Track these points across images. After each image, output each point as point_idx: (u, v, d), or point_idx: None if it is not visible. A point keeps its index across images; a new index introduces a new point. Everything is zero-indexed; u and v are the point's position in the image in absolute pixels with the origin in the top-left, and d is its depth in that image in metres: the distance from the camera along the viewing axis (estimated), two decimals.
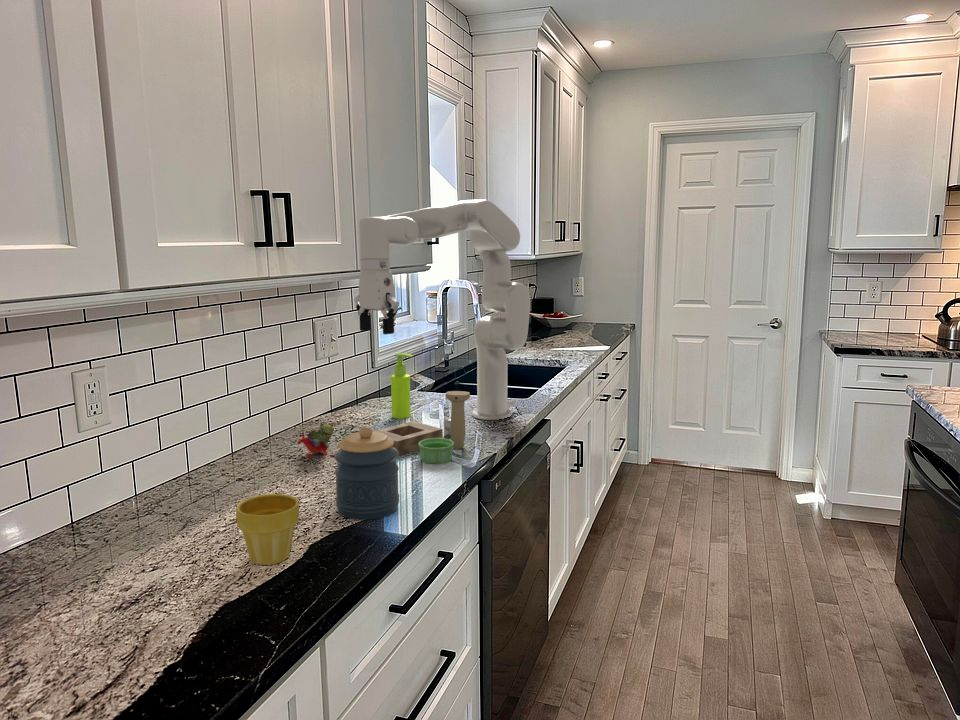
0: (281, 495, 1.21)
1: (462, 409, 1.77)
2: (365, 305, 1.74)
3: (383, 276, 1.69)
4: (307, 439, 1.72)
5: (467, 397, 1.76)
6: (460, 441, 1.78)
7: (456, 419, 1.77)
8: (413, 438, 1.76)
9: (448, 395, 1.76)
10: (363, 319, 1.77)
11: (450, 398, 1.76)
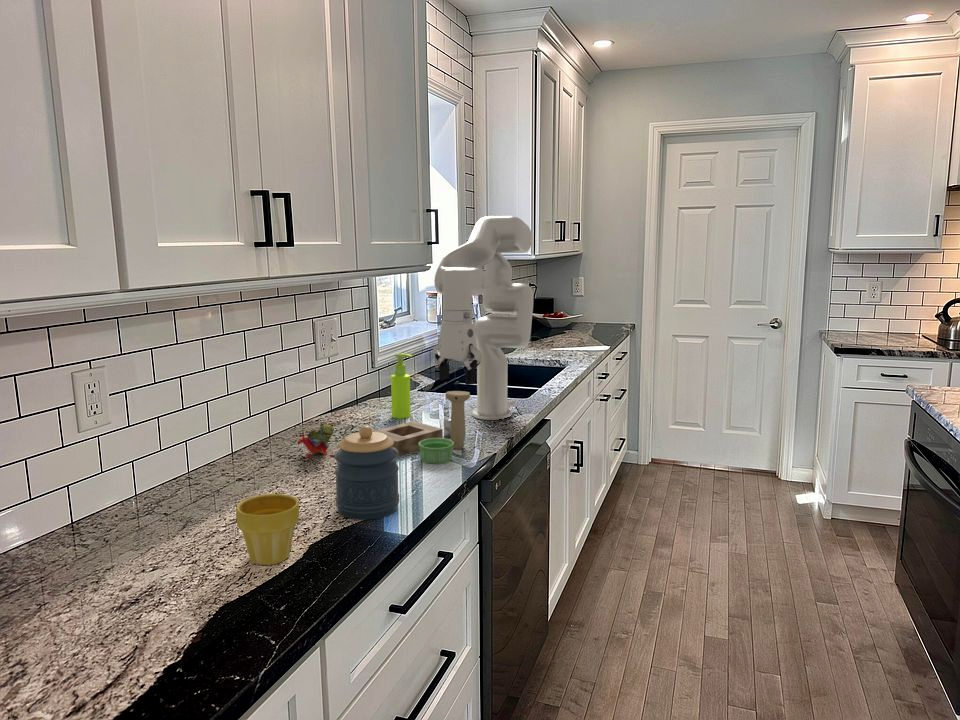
0: (281, 495, 1.21)
1: (462, 409, 1.77)
2: (446, 355, 1.75)
3: (467, 327, 1.70)
4: (307, 439, 1.72)
5: (467, 397, 1.76)
6: (460, 441, 1.78)
7: (456, 419, 1.77)
8: (413, 438, 1.76)
9: (448, 395, 1.76)
10: (443, 368, 1.78)
11: (450, 398, 1.76)
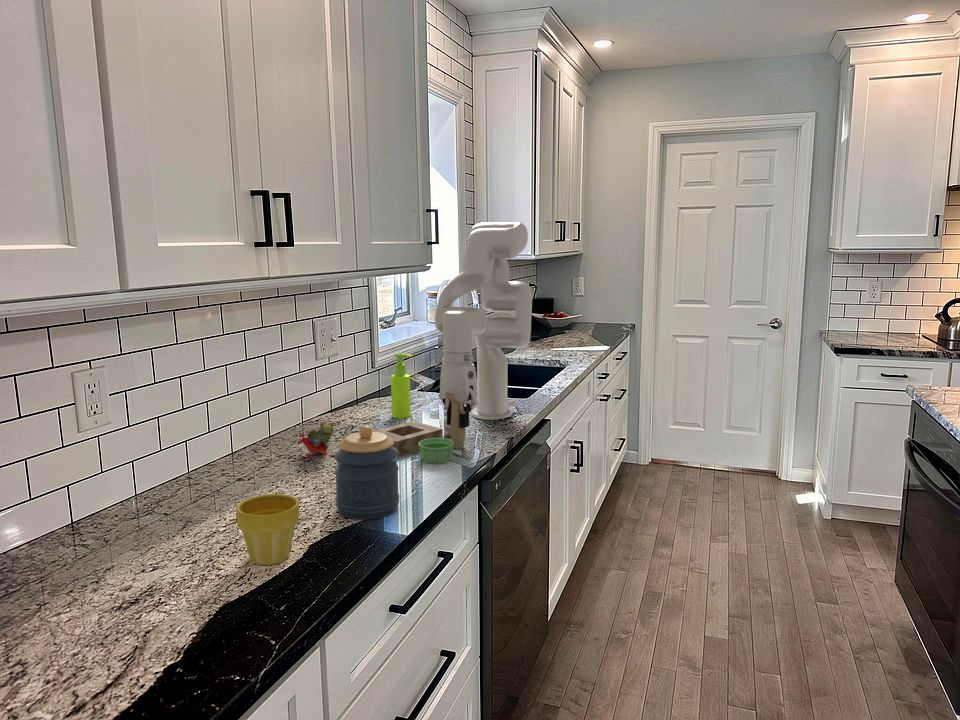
0: (281, 495, 1.21)
1: None
2: None
3: (467, 370, 1.72)
4: (307, 439, 1.72)
5: None
6: (460, 441, 1.78)
7: (456, 419, 1.77)
8: (413, 438, 1.76)
9: (448, 395, 1.76)
10: (450, 413, 1.79)
11: (450, 398, 1.76)
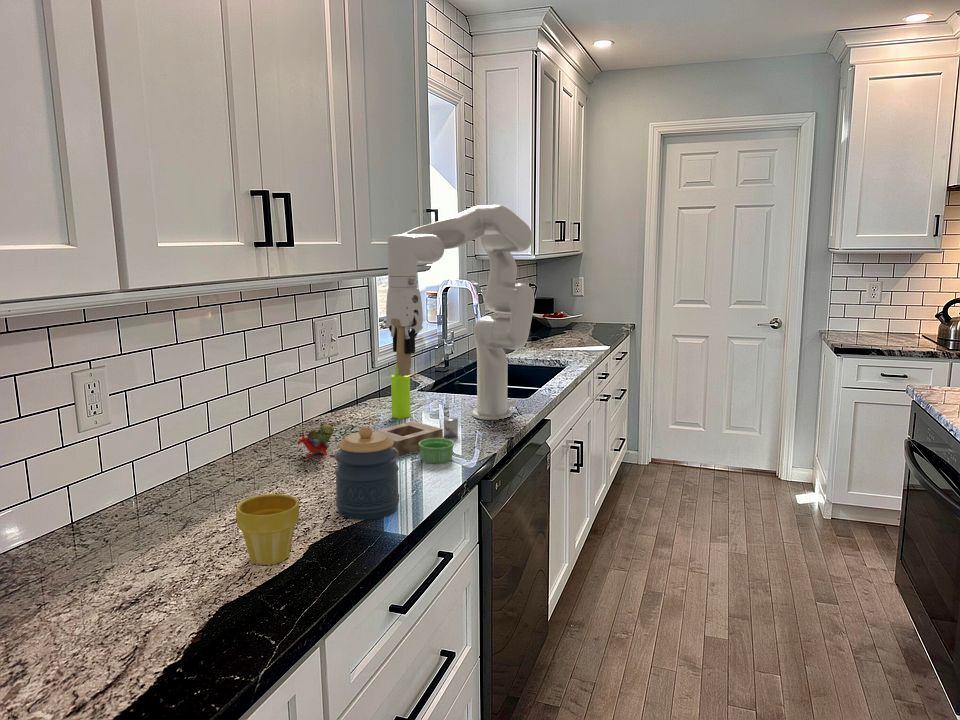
0: (281, 495, 1.21)
1: None
2: None
3: (411, 293, 1.71)
4: (307, 439, 1.72)
5: None
6: (406, 368, 1.77)
7: (402, 345, 1.76)
8: (413, 438, 1.76)
9: (393, 320, 1.75)
10: (396, 340, 1.78)
11: (395, 323, 1.75)
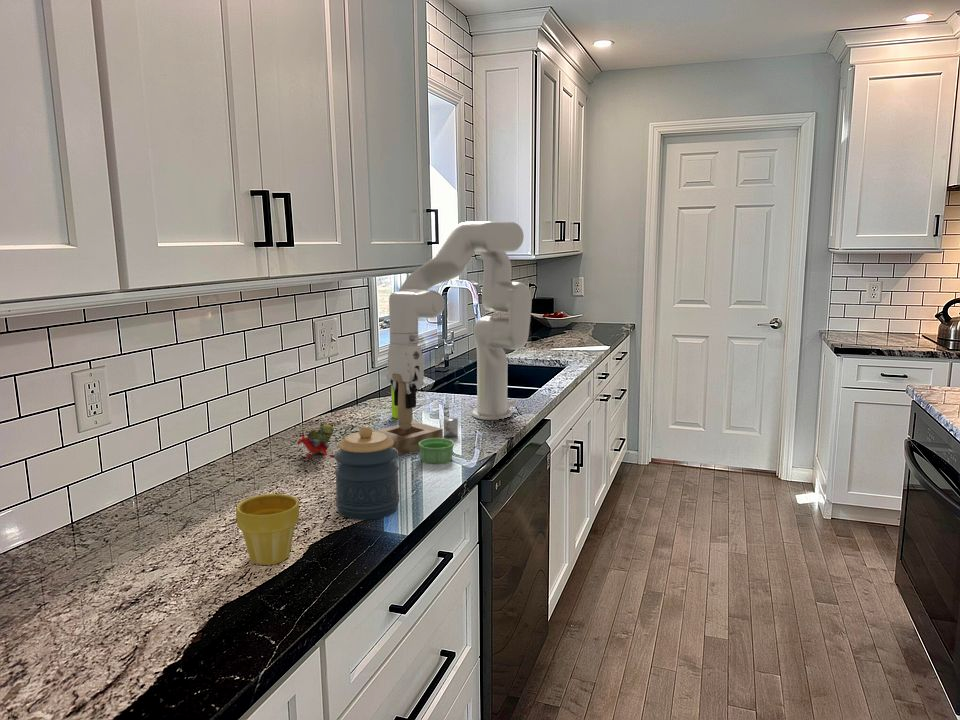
0: (281, 495, 1.21)
1: None
2: None
3: (412, 350, 1.74)
4: (307, 439, 1.72)
5: (413, 378, 1.77)
6: (407, 421, 1.79)
7: (403, 399, 1.78)
8: (413, 438, 1.76)
9: (394, 376, 1.77)
10: (397, 394, 1.81)
11: (396, 378, 1.77)
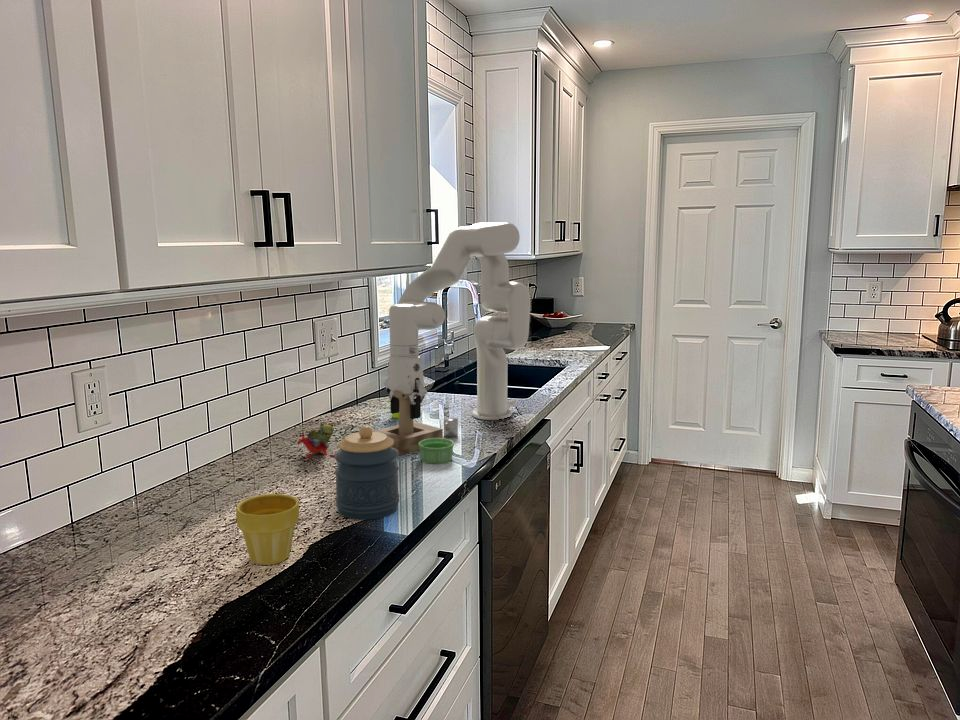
0: (281, 495, 1.21)
1: None
2: (394, 388, 1.79)
3: (412, 362, 1.75)
4: (307, 439, 1.72)
5: (414, 395, 1.78)
6: None
7: (404, 416, 1.79)
8: (413, 438, 1.76)
9: (395, 393, 1.78)
10: (394, 402, 1.82)
11: (397, 396, 1.78)
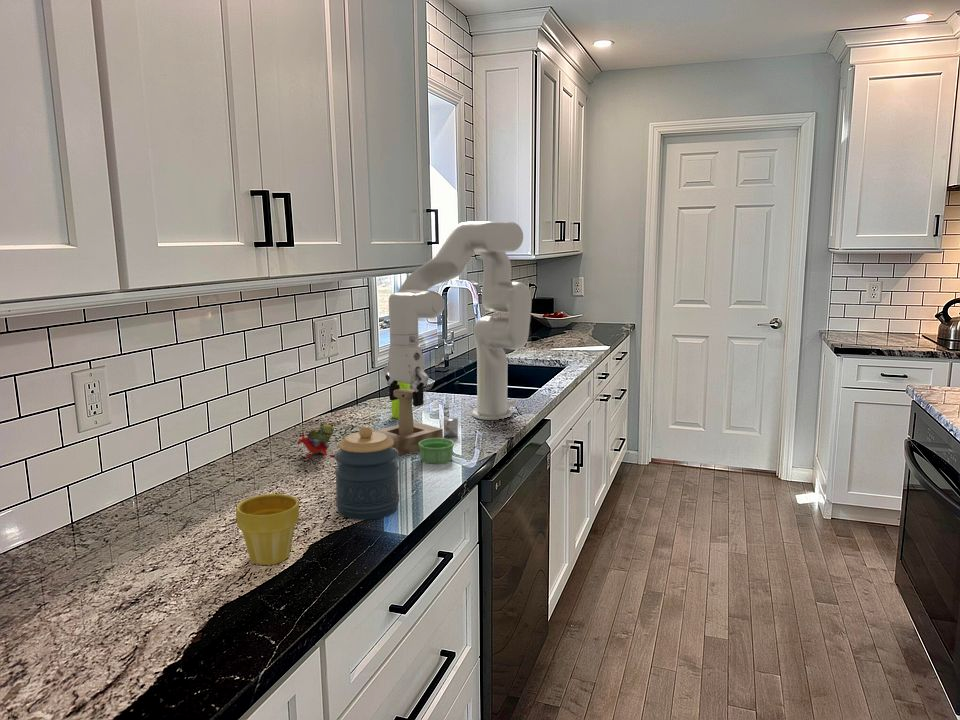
0: (281, 495, 1.21)
1: (410, 407, 1.80)
2: (395, 377, 1.79)
3: (413, 351, 1.74)
4: (307, 439, 1.72)
5: None
6: None
7: (404, 416, 1.79)
8: (413, 438, 1.76)
9: (395, 393, 1.78)
10: (392, 389, 1.82)
11: (397, 396, 1.78)
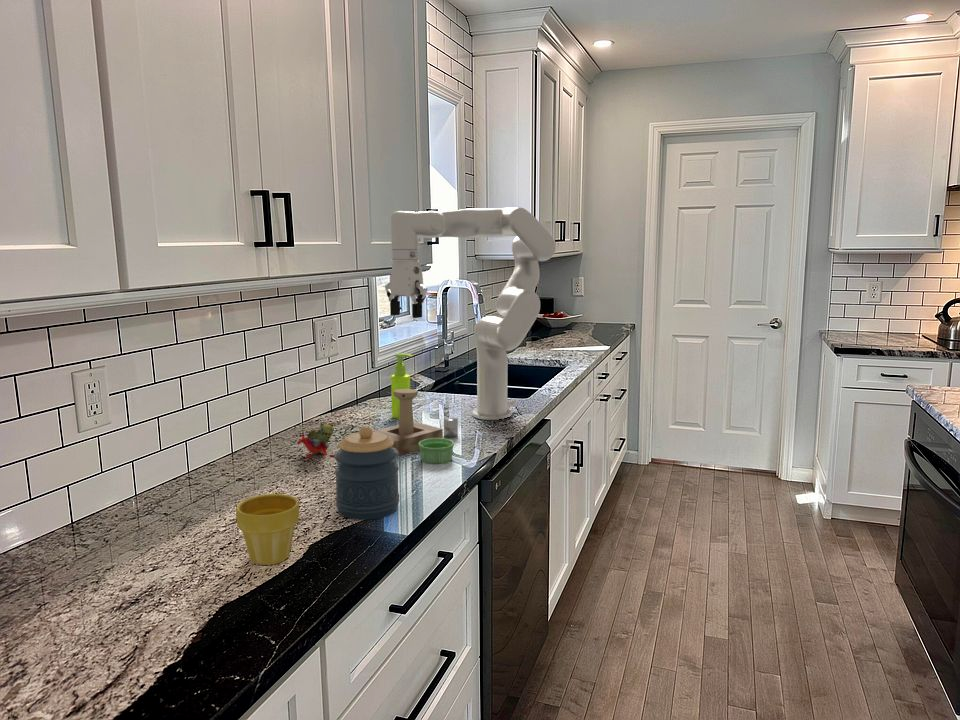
0: (281, 495, 1.21)
1: (410, 407, 1.79)
2: (396, 292, 1.91)
3: (413, 265, 1.86)
4: (307, 439, 1.72)
5: (414, 395, 1.78)
6: None
7: (404, 416, 1.79)
8: (413, 438, 1.76)
9: (396, 393, 1.78)
10: (393, 305, 1.94)
11: (397, 396, 1.78)
